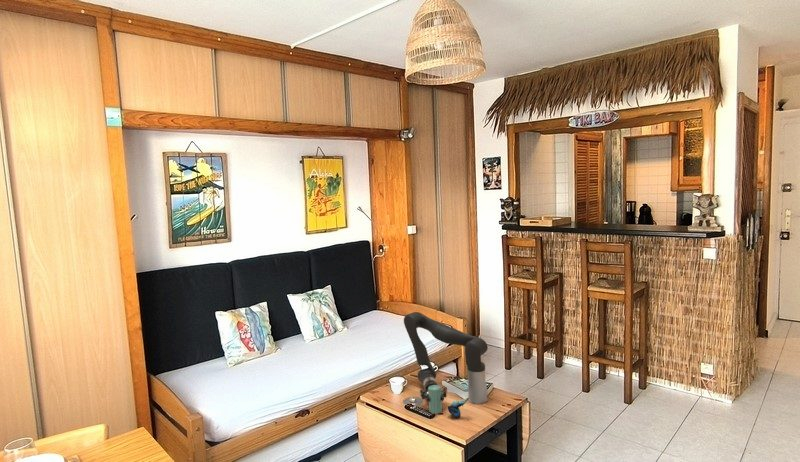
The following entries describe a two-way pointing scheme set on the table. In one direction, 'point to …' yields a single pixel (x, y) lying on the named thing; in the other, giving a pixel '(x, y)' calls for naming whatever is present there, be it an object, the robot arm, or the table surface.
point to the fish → (456, 407)
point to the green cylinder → (435, 399)
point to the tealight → (413, 399)
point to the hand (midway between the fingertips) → (435, 399)
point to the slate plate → (419, 402)
